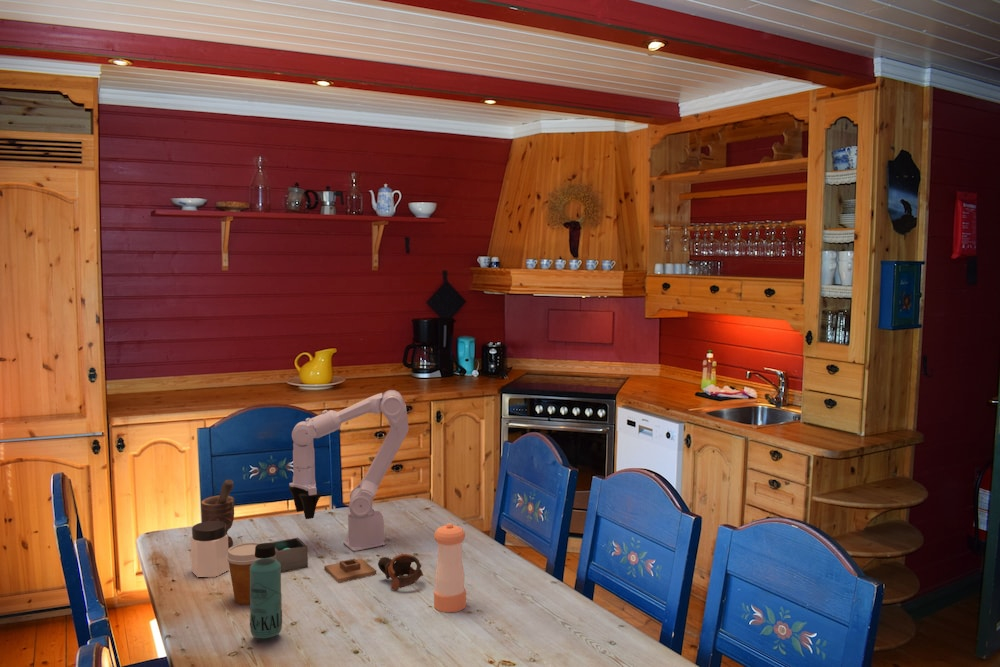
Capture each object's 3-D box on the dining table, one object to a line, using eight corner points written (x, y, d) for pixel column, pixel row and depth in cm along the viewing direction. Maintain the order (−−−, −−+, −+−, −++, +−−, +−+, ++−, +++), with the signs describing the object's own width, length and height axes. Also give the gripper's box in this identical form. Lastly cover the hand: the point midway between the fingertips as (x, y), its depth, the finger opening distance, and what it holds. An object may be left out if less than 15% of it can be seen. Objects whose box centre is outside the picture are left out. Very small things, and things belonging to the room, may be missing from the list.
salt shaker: (441, 614, 174) (441, 530, 173) (429, 602, 181) (428, 521, 179) (471, 608, 178) (471, 525, 176) (458, 596, 184) (457, 516, 183)
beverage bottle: (254, 632, 166) (251, 539, 164) (286, 630, 167) (283, 538, 165) (246, 646, 160) (244, 550, 158) (280, 645, 160) (277, 549, 159)
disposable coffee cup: (278, 598, 183) (277, 548, 182) (240, 611, 176) (239, 559, 175) (257, 587, 189) (255, 538, 188) (219, 599, 182) (218, 549, 182)
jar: (233, 573, 198) (231, 526, 197) (200, 581, 193) (198, 533, 192) (220, 563, 205) (219, 518, 204) (188, 570, 200) (187, 524, 199)
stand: (361, 562, 206) (361, 552, 206) (376, 574, 197) (376, 564, 197) (324, 569, 201) (324, 560, 200) (338, 582, 192) (338, 573, 192)
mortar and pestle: (250, 544, 219) (248, 474, 217) (228, 555, 211) (226, 482, 209) (218, 539, 224) (216, 470, 222) (195, 549, 216) (193, 477, 214)
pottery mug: (428, 578, 196) (429, 557, 192) (411, 608, 189) (413, 586, 184) (384, 562, 199) (385, 540, 194) (367, 590, 192) (367, 569, 187)
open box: (298, 557, 209) (297, 537, 209) (307, 567, 202) (307, 546, 202) (268, 563, 205) (267, 542, 204) (276, 573, 198) (276, 552, 198)
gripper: (281, 462, 219) (282, 510, 220) (297, 473, 206) (298, 524, 207) (306, 459, 222) (307, 506, 223) (323, 470, 210) (324, 519, 211)
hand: (304, 514), depth 216 cm, fingers open, 7 cm apart
